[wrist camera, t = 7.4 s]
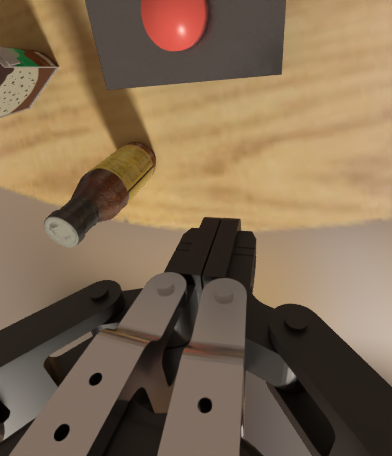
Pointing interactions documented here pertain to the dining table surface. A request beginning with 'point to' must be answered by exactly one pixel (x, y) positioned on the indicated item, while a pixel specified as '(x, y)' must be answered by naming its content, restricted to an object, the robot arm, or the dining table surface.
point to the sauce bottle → (101, 193)
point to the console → (195, 56)
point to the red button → (174, 22)
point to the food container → (22, 78)
